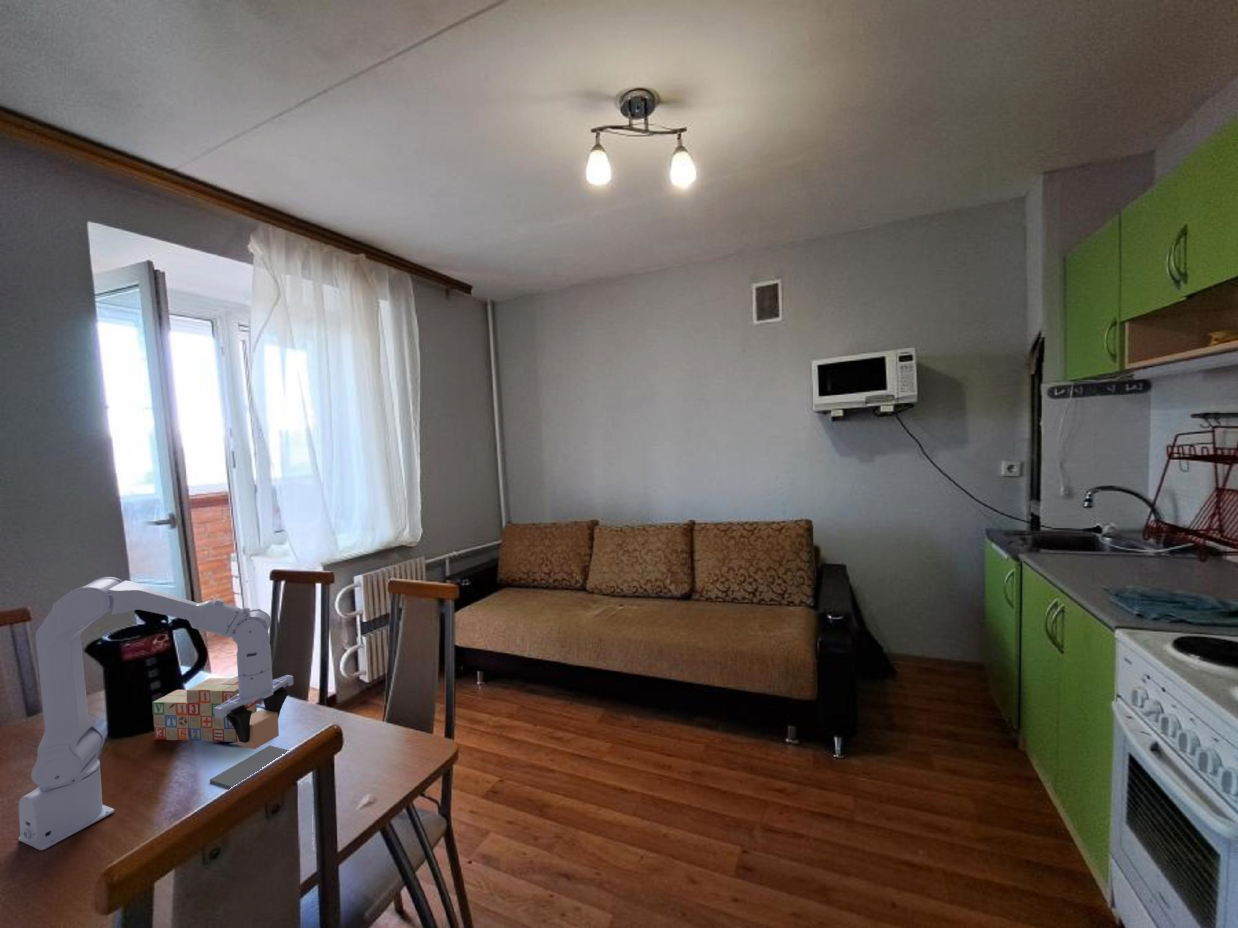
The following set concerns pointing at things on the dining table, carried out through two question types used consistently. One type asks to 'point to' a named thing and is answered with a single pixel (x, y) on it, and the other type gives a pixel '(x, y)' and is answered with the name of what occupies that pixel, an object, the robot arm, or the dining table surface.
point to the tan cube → (262, 728)
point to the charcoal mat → (247, 767)
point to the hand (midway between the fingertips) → (258, 733)
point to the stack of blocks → (197, 712)
